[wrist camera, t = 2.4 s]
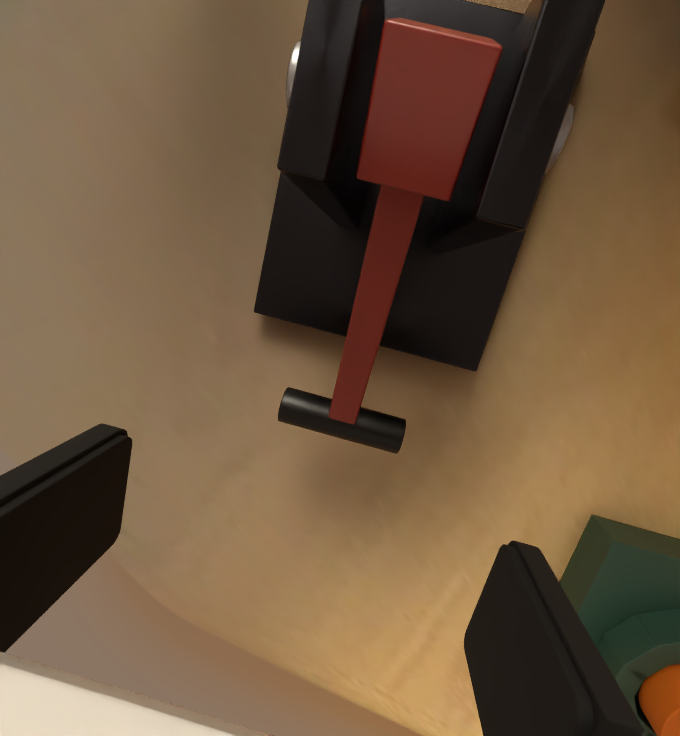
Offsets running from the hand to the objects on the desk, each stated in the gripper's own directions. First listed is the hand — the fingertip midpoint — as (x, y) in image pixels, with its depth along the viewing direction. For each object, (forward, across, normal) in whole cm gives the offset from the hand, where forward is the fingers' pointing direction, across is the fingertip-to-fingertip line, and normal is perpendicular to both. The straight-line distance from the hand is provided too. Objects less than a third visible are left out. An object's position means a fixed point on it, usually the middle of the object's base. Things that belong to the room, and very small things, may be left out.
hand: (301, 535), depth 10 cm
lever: (+5, 0, -6) cm, 8 cm away
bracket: (+12, 0, -10) cm, 16 cm away
